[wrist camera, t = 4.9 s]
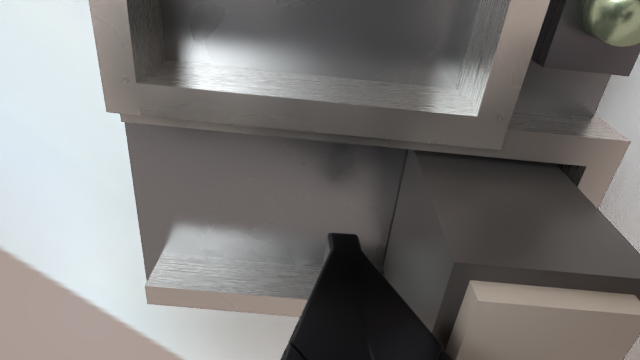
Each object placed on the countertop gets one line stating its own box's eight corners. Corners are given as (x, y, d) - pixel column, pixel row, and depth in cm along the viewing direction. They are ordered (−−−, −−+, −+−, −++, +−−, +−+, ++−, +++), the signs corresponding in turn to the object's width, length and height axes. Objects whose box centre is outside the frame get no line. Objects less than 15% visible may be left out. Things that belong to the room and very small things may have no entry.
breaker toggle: (546, 153, 10) (684, 302, 6) (497, 276, 11) (580, 451, 8) (410, 140, 10) (461, 282, 6) (383, 266, 11) (408, 437, 8)
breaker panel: (700, -300, 8) (945, -449, 5) (485, 276, 14) (526, 370, 11) (111, -373, 7) (-45, -581, 4) (171, 248, 14) (126, 337, 11)
